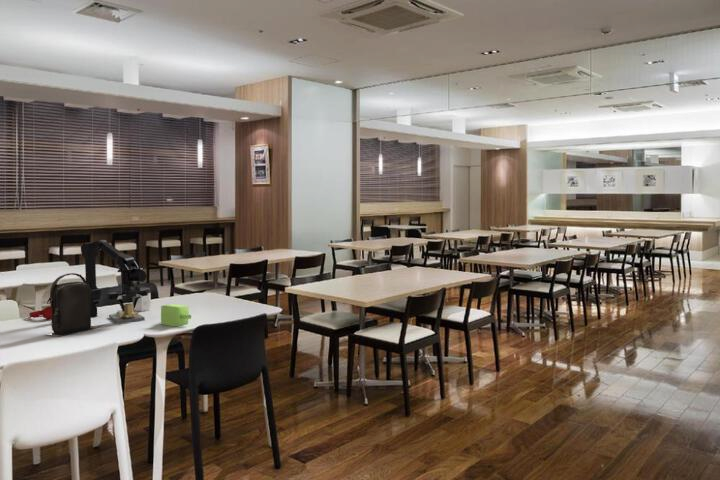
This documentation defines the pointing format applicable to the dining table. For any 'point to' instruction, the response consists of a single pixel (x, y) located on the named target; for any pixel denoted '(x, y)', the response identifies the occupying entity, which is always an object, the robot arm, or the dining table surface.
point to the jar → (144, 302)
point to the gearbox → (174, 315)
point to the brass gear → (128, 311)
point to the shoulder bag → (70, 307)
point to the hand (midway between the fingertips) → (128, 310)
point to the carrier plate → (125, 320)
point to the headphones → (42, 313)
